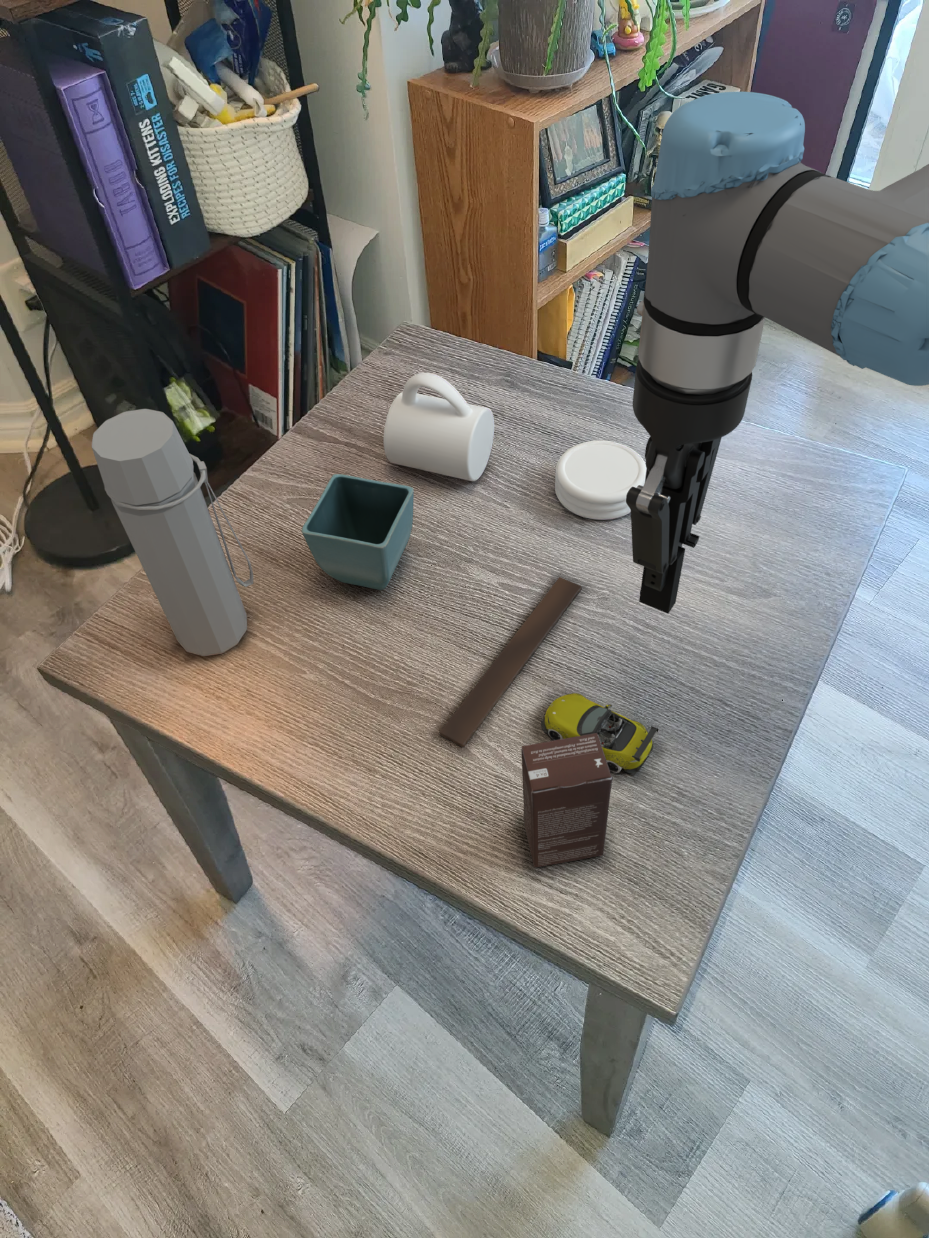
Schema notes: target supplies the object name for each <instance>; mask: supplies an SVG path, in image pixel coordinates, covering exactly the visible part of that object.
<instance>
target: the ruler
mask: <svg viewBox="0 0 929 1238" xmlns="http://www.w3.org/2000/svg"><path fill="white" fill-rule="evenodd" d="M582 587H583V586H582V585H579V584H577V583H575V582H573V581H570V580H569V579H565V578H563V577H561V576H558V578H557V579H556V580H555V582H554V583H553V584H552V585H551V587H550V588H549V590H548V591H547V592H546V593H545V595H544V596H543V598H542V599H541V600H540V601H539V602H538V604H537V605H536V606H535V608H534V609H533V610H532V611H531V613H530V614H529V615H528V617H527V618H526V619H525V621H524V622H523V623H522V625H521V626H520V627H519V629H518V630H517V631H516V632H515V634H514V635H513V636H512V637H511V639H510V640H509V642H508V643H506V645H505V646H504V648H503V649H502V651H500V653H499V654H498V656H497V657H496V658H495V659H494V661H493V662H492V663H491V664H490V666H489V667H488V668H487V670H486V671H485V672H484V673H483V675H482V676H481V678H480V679H479V680H478V681H477V682H476V684H475V685H474V686H473V688H472V689H471V690H470V692H469V693H468V694H467V696H466V697H465V698H464V699H463V700H462V702H461V703H460V705H459V706H458V707H457V708H456V710H455V711H454V712H453V714H452V715H451V716H450V718H448V719H447V721H446V723H445V724H444V725H443V726H442V728H441V729H440V730H439V732H438V735H439V736H440V737H443V739H444V738H445V739H447V740H448V741H450V742H452V743H454V744H455V745H458V746H460V747H461V748H465V747H466V745H467V744H468V742H469V741H470V740H471V739H472V737H473V736H474V734H475V733H476V731H477V730H478V729H479V727H480V726H481V725H482V724H483V722H484V721H485V719H486V718H487V717H488V715H489V714H491V711H492V710H493V709H494V707H495V706H496V705H497V704H498V702H499V701H500V700H501V698H502V697H503V695H504V694H505V693H506V691H507V690H508V688H509V687H510V686H511V685H512V683H513V682H514V680H515V679H516V678H517V677H518V676H519V674H520V672H522V671H523V668H524V667H525V666H526V664H527V663H528V662H529V661H530V659H531V658H532V657H533V655H534V654H535V652H537V650H538V649H539V648H540V646H541V644H542V643H543V642H544V640H545V639H546V638H547V636H548V635H549V634H550V632H551V631H552V629H553V628H554V627H555V626H556V624H557V622H559V620H560V619H561V617H562V616H563V615H564V614H565V612H566V611H567V609H568V608H569V607H570V606H571V604H572V603H573V601H574V600H575V599H576V598H577V596H578V595H579V593H580V592H581V591H582Z"/></svg>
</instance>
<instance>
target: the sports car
mask: <svg viewBox="0 0 929 1238" xmlns="http://www.w3.org/2000/svg"><path fill="white" fill-rule="evenodd" d="M612 707H613V705H612V704H605V706H602V705H600V704H599V703H597V702H595V701H593V700H591V699H588V698H587V697H585V696H584V695H582V694H580V693H578V692H572V693H567V694H564V695H561V696H559V697H557V698H555V699H554V700H553V701H552V702H551V703H550V705H548V708H547V709H546V711H545V713H544V716H543V718H542V720H540V725H541V729H542V730H543V732H544V733H545V734H548V737H550V738H551V739H552V741H554V740H560V739H565V738H571V737H576V736H583V735H588V734H594V733H597V734H598V736H599V740H600V743H601V746H602V749H603V752H604V755H605V758H606V761H607V764H608V767H609V770H610V772H612V773H614V774H619V773H620V772H621V770H622V769H623V771H622V772H625V773H628V774H631V775H634V776H635V775H637V773H639V771H640V770H641V768H643V766H644V764H645V763H646V761H647V759H648V758H649V756H650V754H651V753H652V751H653V749H654V744H653V738H654V736H655V734H656V733H659V729H660V728H658V727H654V726H652V725H651V726H650V728H648V729H646V727H645V725H643V724H642V722H639V721H638V720H632V719H630V718H628V717H626V716H625V715H622V714H619V713H618V712H616V711H613V710H611V708H612ZM648 730H649V731H648Z"/></svg>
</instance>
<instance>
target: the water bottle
mask: <svg viewBox="0 0 929 1238" xmlns="http://www.w3.org/2000/svg"><path fill="white" fill-rule="evenodd" d="M91 450H92V452H93V455H94V458H95V461H96V465H97V468H98V470H99V474H100V477H101V480H102V483H103V487H104V491H105V492H106V495H107V496H108V497H109V498H110V501H111V503H112V505H113V508H114V511H115V512H116V514H117V516H118V518H119V520H120V522H121V525H122V526H123V528H124V531H125V533H126V535H127V537H128V539H129V541H130V543H131V546H132V548H133V550H134V552H135V554H136V556H137V558H138V560H139V563H140V565H141V567H142V569H143V571H144V573H145V575H146V577H147V580H148V582H149V584H150V586H151V588H152V590H153V592H154V594H155V597H156V599H157V601H158V603H159V605H160V607H161V609H162V612H163V613H164V615H165V618H166V620H167V623H168V624H169V626H170V628H171V630H172V632H173V635H174V636H175V639H176V641H177V642H178V643H179V645H180V646H181V647H182V648H183V649H184V650H185V652H187V653H190V654H194V655H197V656H201V657H208V656H215V655H222V654H224V653H226V652H227V651H229V650H231V649H232V648H235V647H236V646H237V645H238V644H239V642H240V641H241V640H242V638H243V636H244V634H245V633H246V632H247V630H248V614H247V612H246V609H245V606H244V603H243V601H242V598H241V595H240V592H239V589H238V587H237V585H236V582H237V583H238V584H239V585H240V586H241V587H244V588H247V587H250V586H252V585H254V572H253V567H252V564H251V561H250V559H249V557H248V554H247V553H246V551H245V550H244V548H243V545H242V544H241V542H240V540H239V538H238V536H237V534H236V532H235V530H234V529H233V526H232V525H231V523H230V521H229V519H228V517H227V515H226V513H225V512H224V510H223V508H222V505H221V504H220V502H219V499H218V498H217V496H216V494H215V493H214V491H213V489H212V487H211V484H210V483H209V479H208V468H207V466H206V463H205V461H204V460H203V461H201V460H200V459H199V457H197V456H196V455H193V454H191V453H189V451H188V448H187V447H186V445H185V442H184V441H183V439H182V436H181V434H180V433H179V431H178V429H177V426H176V424H175V423H174V421H173V420H172V419H171V418H170V417H169V416H168V415H167V414H165V413H164V412H163V411H159V410H154V409H149V408H140V409H134V410H128V411H123V412H121V413H119V414H116V415H115V416H113V417H111V418H108V419H106V420H105V421H103V423H102V424H101V425H100V426H99V427H98V428H97V429H96V430H95V431H94V432H93V434H92V441H91ZM194 462H195V464H196V465H197V468H198V471H199V475H200V478H199V480H198V477H197V474H196V472H194V467H195V466H194ZM203 484H205V488H206V492H207V493H208V497H209V500H210V504H211V507H212V511H213V513H214V517H215V520H216V524H217V526H218V530H219V534H220V536H221V540H222V542H223V546H224V549H225V550H224V549H223V546H222V543H221V541H220V538H219V534H218V532H217V530H216V526H215V525H214V521H213V518H212V516H211V513H210V510H209V507H208V505H207V502H206V499H205V497H204V493H203V491H202V489H201V487H202V485H203ZM209 489H210V490H209ZM211 493H212V495H213V497H214V500H215V502H216V503H217V505H218V507H219V509H220V511H221V513H222V515H223V517H224V519H225V522H226V523H227V524H228V526H229V528H230V531H231V532H232V534H233V537H234V538H235V540H236V542H237V544H238V546H239V548H240V549H241V552H242V553H243V555H244V558H245V560H246V562H247V566H248V570H249V579H247V580H245V581H244V580H242V579H240V577H238V576H237V573H236V570H235V566H234V564H233V561H232V557H231V554H230V552H229V547H228V545H227V542H226V539H225V536H224V533H223V529H222V526H221V523H220V520H219V517H218V514H217V511H216V509H215V505H214V502H213V499H212V495H211ZM224 551H225V552H224ZM225 553H226V554H225ZM226 556H227V557H226ZM227 559H228V560H227ZM234 578H235V579H234ZM235 580H236V582H235Z"/></svg>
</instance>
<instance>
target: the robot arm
mask: <svg viewBox="0 0 929 1238" xmlns="http://www.w3.org/2000/svg"><path fill="white" fill-rule="evenodd" d="M805 132H806V123H805V118H804V117H803V114H802V113H801V111H799V110H798V109H797V108H795V107H793V106H792V104H790V102H788V101H787V100H786V99H783V98H781V97H778V96H774V95H771V94H766V93H761V92H755V91H754V92H753V91H724V92H723V91H722V92H716V93H710V94H705V95H703V96H700V97H697V98H696V99H695V98H694V99H692V100H691V101H688V102H685V103H683V104H682V105H680V106H679V107H677V109H675V110H674V111H673V112H672V113H671V115H670V116H669V117H668V119H667V120H666V122H665V124H664V126H663V130H662V133H661V139H660V145H659V151H658V156H657V157H658V158H657V162H656V169H655V174H654V180H653V184H652V186H651V188H650V197H651V205H650V223H649V236H648V237H649V239H648V252H647V253H648V254H647V266H646V277H645V284H644V292H643V300H641V301H640V302H639V303H638V305H637V306H636V313H637V315H638V316H640V317H641V321H640V322H641V323H640V331H639V332H640V334H639V343H638V354H637V355H638V361H637V363H636V366H635V375H634V386H633V392H632V393H633V395H632V411H633V414H634V417H635V418H636V420H637V421H638V423H639V424H640V425H641V427H643V428H644V429H645V431H646V432H647V434H648V435H649V438H648V440H647V441H646V444H645V452H644V459H645V464H646V468H647V469H646V477H645V484H644V486H641V485H638V486H637V488H635V487H631V488H630V489H629V491H628V493H627V495H626V503H627V505H628V506H629V508H630V510H631V512H630V526H631V528H630V529H631V548H632V549H631V550H632V563H634V564H635V565H636V564H637V565H639V566H641V567H643V570H642V576H641V585H640V591H639V598H638V602H639V603H641V604H643V605H645V606H648V607H651V608H653V609H655V610H657V611H660V612H663V613H665V614H668V615H669V613H670V612H671V611H672V609H673V607H674V606H675V604H676V602H677V598H678V593H679V586H680V582H681V581H680V580H681V576H682V575H681V574H682V569H683V564H684V559H685V552H686V548H685V547H683V545H685V546H687V547H690V548H691V549H694V548H696V546H697V544H698V542H699V539H700V535H698V534H695V533H692V528H693V526H695V525H696V526H697V524H698V523H699V522H700V520H701V518H702V517H701V515H702V511H703V507H704V504H705V500H706V496H707V493H708V488H709V486H710V483H711V477H712V476H713V475H712V474H713V471H714V467H715V463H716V459H717V456H718V453H719V449H720V445H721V441H722V438H723V437H725V436H727V435H730V434H731V433H733V431H734V430H736V429H737V428H738V426H739V425H740V424H741V422H742V420H743V419H744V416H745V413H746V408H747V403H748V399H749V395H750V390H751V385H752V381H753V371H754V369H755V368H756V366H757V365H756V364H757V360H758V355H759V349H760V345H761V340H762V336H763V332H764V326H765V321H766V319H768V320H770V321H771V322H773V323H775V324H778V325H779V326H781V327H783V328H784V329H787V330H788V331H790V332H792V333H795V334H796V335H798V336H800V337H802V338H804V339H806V340H808V341H810V342H811V343H813V344H815V345H817V346H820V347H821V348H823V349H825V350H826V351H828V352H830V353H833V354H834V355H836V356H838V357H840V359H841V360H843V361H846V362H847V364H849V365H851V366H853V367H857V368H860V369H861V370H863V369H868V370H870V371H873V372H876V373H877V374H880V375H883V376H886V377H887V378H891V379H893V380H896V381H898V382H900V383H902V384H905V385H907V386H913V387H923V386H928V385H929V163H928V164H926V165H924V166H923V167H921V168H919V169H918V170H916V171H914V172H912V173H909V174H908V175H906V176H905V177H902V178H900V179H898V180H896V181H894V182H893V183H890V184H889V185H887V186H885V187H884V188H882V189H880V190H872V189H868V188H866V187H862V186H860V185H857V184H854V183H851V182H848V181H845V180H843V179H840V178H837V177H833V176H831V175H828V174H825V173H823V172H821V171H820V170H817V169H815V168H813V167H810V166H806V165H805V164H804V163H802V160H803V156H804V153H805V149H806V148H805V146H804V141H805V135H806V133H805Z"/></svg>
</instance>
